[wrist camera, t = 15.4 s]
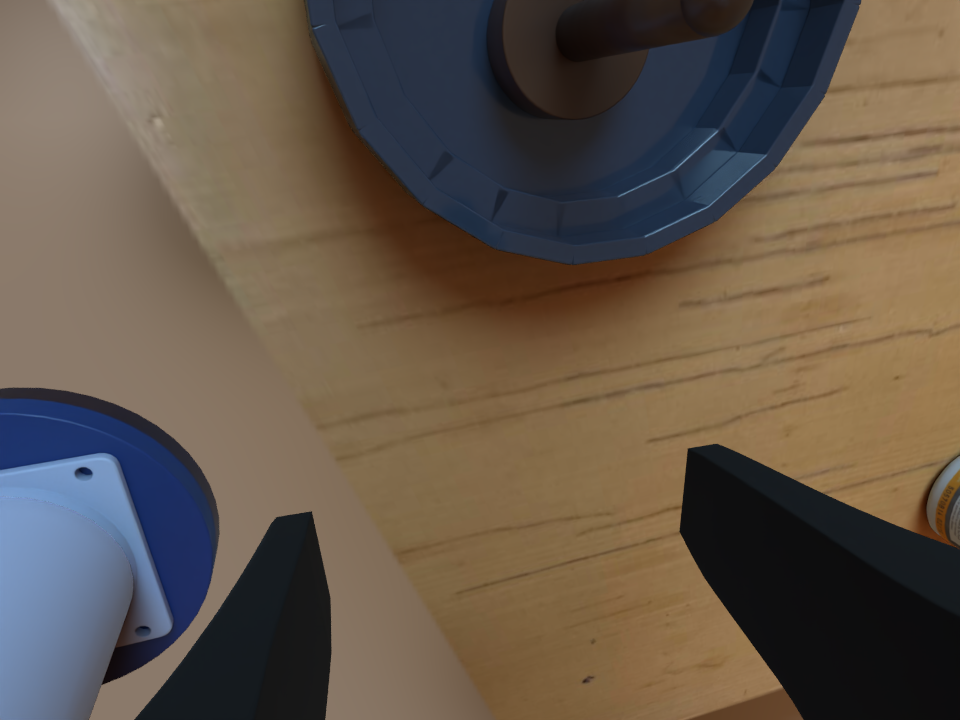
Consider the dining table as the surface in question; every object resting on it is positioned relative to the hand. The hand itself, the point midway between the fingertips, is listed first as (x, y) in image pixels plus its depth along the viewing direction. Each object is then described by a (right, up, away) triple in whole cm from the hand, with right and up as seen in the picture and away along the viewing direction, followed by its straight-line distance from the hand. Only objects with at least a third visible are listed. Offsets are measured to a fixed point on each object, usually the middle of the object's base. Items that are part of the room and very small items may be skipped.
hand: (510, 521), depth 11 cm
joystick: (+2, +13, +7) cm, 14 cm away
